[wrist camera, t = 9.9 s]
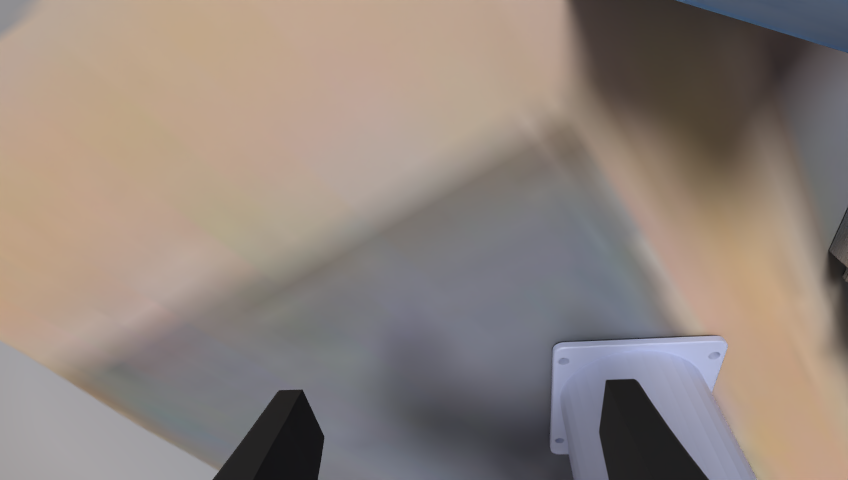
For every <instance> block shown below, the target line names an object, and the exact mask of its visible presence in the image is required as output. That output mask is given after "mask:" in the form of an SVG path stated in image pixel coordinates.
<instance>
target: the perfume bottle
mask: <svg viewBox="0 0 848 480" xmlns="http://www.w3.org/2000/svg"><path fill="white" fill-rule="evenodd" d="M676 1H679V2H683V3H686V4H689V5H693V6H696V7H699V8H702V9H706V10H709V11H712V12H715V13H719V14H722V15H725V16H729V17H732V18H735V19H738V20H742V21H745V22H748V23H752V24H755V25H758V26H761V27H765V28H768V29H771V30H774V31H778V32H781V33H784V34H788V35H791V36H794V37H797V38H801V39H804V40H807V41H811V42H814V43H817V44H820V45H824V46H827V47H830V48H833V49H837V50H840V51H843V52H847V53H848V0H676Z"/></svg>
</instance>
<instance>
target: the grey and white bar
mask: <svg viewBox="0 0 848 480" xmlns="http://www.w3.org/2000/svg"><path fill="white" fill-rule="evenodd" d="M829 251H830V252H831V253H832V254H833V255H834V256H835V257H836V258H837V259H839V260H840V261H841V262H842V263H843V264H844V265H845V266H846V267H847V269H846V271H845V273H844V275H843V277H842V278H843V279H845V280H846V281H847V282H848V210H847V212H846V214H845V217H844V219H843V221H842V223H841V225H840V228H839V230H838V232H837V234H836V236H835V239H834V241H833V243H832V245H831V247H830V250H829Z"/></svg>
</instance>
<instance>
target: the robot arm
mask: <svg viewBox="0 0 848 480" xmlns="http://www.w3.org/2000/svg"><path fill="white" fill-rule="evenodd" d="M727 348H728V344H727V343H726V341H725V340H724V338H723V337H721V336H696V337H673V338H650V339H627V340H605V341H582V342H562V343H558V344H556V345H555V346H554V347H553V350H552V384H551V418H550V449H551V452H553V453H555V454H569V458H570V463H571V468H572V473H573V478H574V480H757V478H756V476H755V474H754V472H753V470H752V468H751V466H750V465H749V463H748V461H747V459H746V457H745V455H744V453H743V451H742V449H741V448H740V446H739V444H738V442H737V440H736V438H735V436H734V434H733V432H732V431H731V429H730V427H729V425H728V423H727V421H726V419H725V417H724V415H723V414H722V412H721V410H720V408H719V406H718V404H717V402H716V400H715V398H714V396H713V395H712V391H713V388H714V385H715V382H716V379H717V376H718V374H719V371H720V368H721V365H722V362H723V359H724V356H725V353H726V351H727ZM561 358H563V359H561ZM323 443H324V435H323V433H322V431H321V429H320V426H319V424H318V422H317V420H316V418H315V416H314V413H313V411H312V409H311V407H310V405H309V403H308V400H307V398H306V396H305V394H304V392H303V390H279V391H278V392H277V394H276V395H275V396H274V398H273V399H272V400H271V402H270V403H269V404H268V406H267V407H266V409H265V410H264V411H263V413H262V414H261V416H260V417H259V418H258V420H257V421H256V422H255V424H254V425H253V427H252V428H251V429H250V431H249V432H248V433H247V435H246V436H245V438H244V439H243V440H242V442H241V443H240V444H239V446H238V447H237V448H236V450H235V451H234V452H233V454H232V455H231V456H230V458H229V459H228V460H227V462H226V463H225V464H224V465H223V467H222V468H221V469H220V471H219V472H218V473H217V475H216V476H215V477H214V479H213V480H318V474H319V468H320V463H321V456H322V450H323Z"/></svg>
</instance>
